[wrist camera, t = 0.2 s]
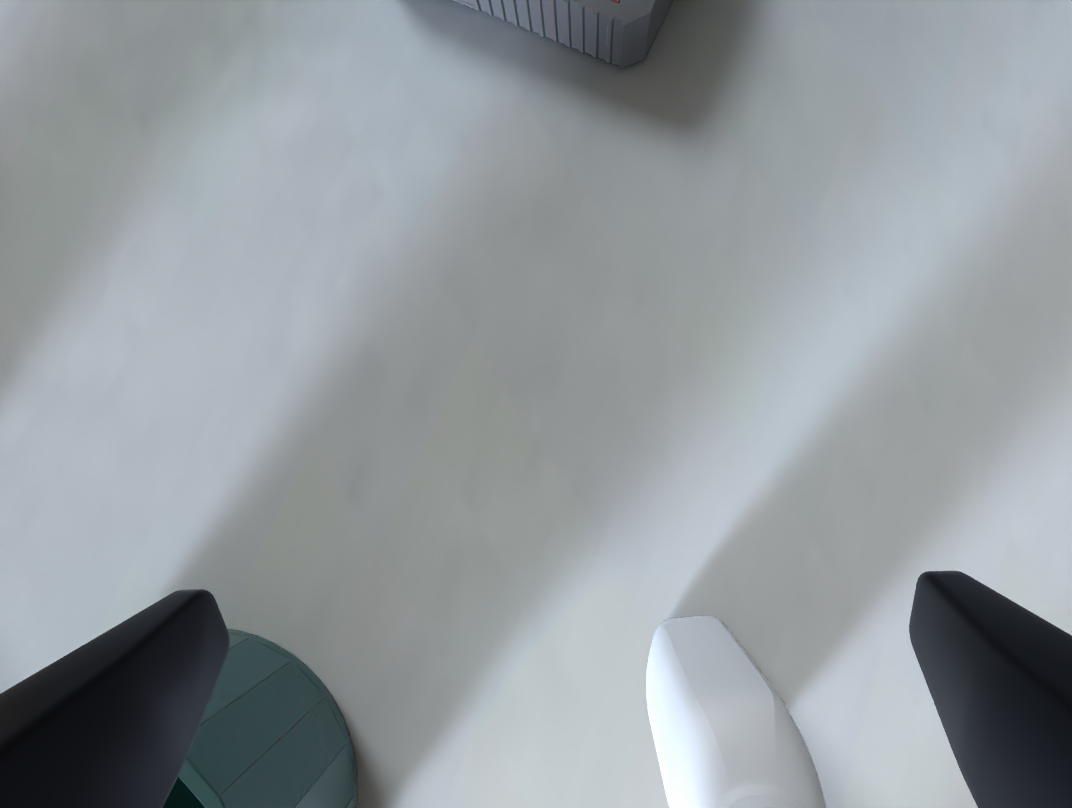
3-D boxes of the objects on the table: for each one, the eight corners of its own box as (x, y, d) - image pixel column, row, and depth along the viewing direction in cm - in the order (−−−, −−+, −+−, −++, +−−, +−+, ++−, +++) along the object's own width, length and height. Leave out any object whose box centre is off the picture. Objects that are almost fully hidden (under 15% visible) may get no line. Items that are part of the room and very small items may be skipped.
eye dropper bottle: (788, 647, 22) (1030, 886, 10) (724, 802, 22) (893, 1238, 10) (668, 593, 22) (760, 758, 10) (605, 743, 22) (623, 1091, 10)
